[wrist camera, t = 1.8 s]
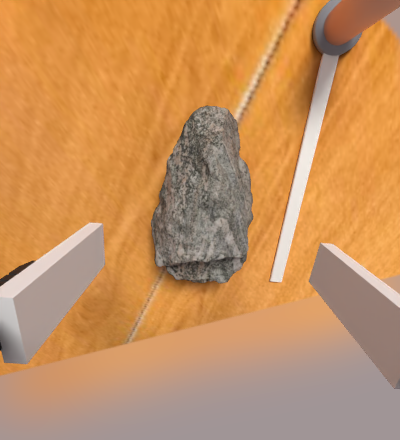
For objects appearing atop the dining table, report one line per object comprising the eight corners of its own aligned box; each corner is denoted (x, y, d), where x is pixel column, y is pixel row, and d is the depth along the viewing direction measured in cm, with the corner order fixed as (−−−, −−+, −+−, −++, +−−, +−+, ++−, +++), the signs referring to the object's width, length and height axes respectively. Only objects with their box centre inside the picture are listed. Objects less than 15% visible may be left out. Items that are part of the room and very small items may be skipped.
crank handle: (258, 279, 29) (280, 326, 22) (319, -5, 20) (397, -97, 12) (291, 281, 30) (323, 329, 22) (367, 2, 20) (471, -84, 12)
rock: (270, 268, 26) (224, 326, 19) (207, 254, 32) (155, 294, 25) (256, 98, 20) (182, 94, 13) (182, 121, 27) (106, 126, 20)
